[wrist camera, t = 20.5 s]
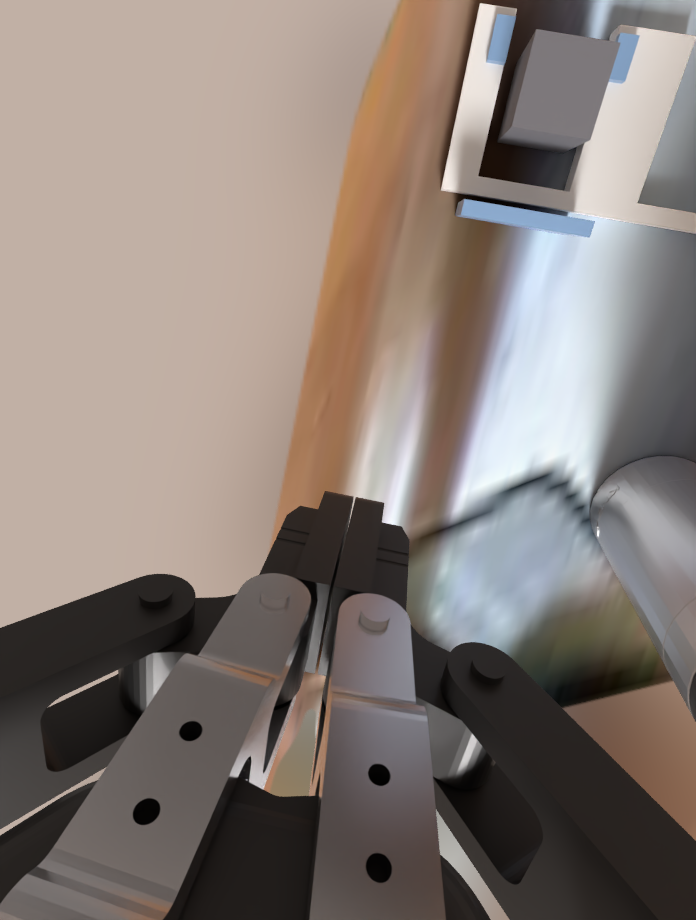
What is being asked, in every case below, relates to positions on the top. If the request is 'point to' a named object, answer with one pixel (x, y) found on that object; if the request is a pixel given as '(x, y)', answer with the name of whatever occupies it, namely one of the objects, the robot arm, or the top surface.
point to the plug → (557, 91)
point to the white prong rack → (596, 161)
